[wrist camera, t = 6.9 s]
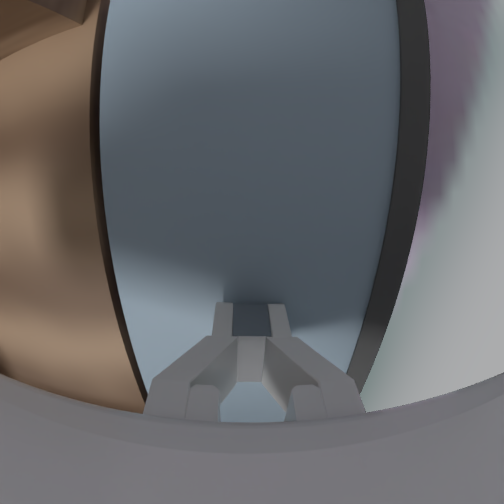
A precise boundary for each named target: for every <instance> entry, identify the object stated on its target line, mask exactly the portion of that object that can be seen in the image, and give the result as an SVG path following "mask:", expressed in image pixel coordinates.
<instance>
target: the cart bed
mask: <svg viewBox="0 0 504 504" xmlns="http://www.w3.org/2000/svg"><path fill="white" fill-rule="evenodd" d="M109 5H110V0H0V374H2V375H5V376H7V377H9V378H12V379H14V380H17V381H19V382H22V383H25V384H27V385H30V386H33V387H36V388H39V389H42V390H45V391H48V392H51V393H54V394H57V395H61V396H64V397H67V398H71V399H75V400H78V401H82V402H86V403H90V404H94V405H99V406H103V407H108V408H112V409H117V410H122V411H128V412H133V413H139V414H143V411H144V407H145V403H146V400H147V396H148V393H147V390H146V388H145V385H144V382H143V379H142V376H141V373H140V370H139V366H138V363H137V360H136V357H135V353H134V350H133V347H132V343H131V340H130V336H129V332H128V329H127V325H126V321H125V317H124V313H123V309H122V305H121V300H120V296H119V291H118V287H117V282H116V277H115V272H114V266H113V261H112V255H111V249H110V243H109V236H108V230H107V222H106V214H105V206H104V196H103V185H102V172H101V155H100V85H101V69H102V57H103V47H104V38H105V30H106V23H107V17H108V11H109Z"/></svg>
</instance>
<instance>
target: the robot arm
mask: <svg viewBox="0 0 504 504" xmlns="http://www.w3.org/2000/svg"><path fill="white" fill-rule="evenodd" d="M237 382H262V384H263V386H264V387H265V388H266V389H267V391H268V392H269V393H270V394H271V396H272V397H273V398H274V399H275V400H276V402H277V403H278V404H279V405H280V406H281V408H282V409H283V410H284V411H285V412H286V415H285V419H284V422H221V416H220V404H221V403H222V402H223V401H224V399H225V398H226V397H227V395H228V394H229V393H230V392H231V390H232V389H233V388H234V386H235V385H236V384H237ZM0 504H504V373H501V374H499V375H497V376H494V377H492V378H489V379H487V380H484V381H482V382H479V383H476V384H474V385H471V386H468V387H465V388H462V389H459V390H457V391H453V392H450V393H447V394H444V395H440V396H437V397H433V398H430V399H426V400H423V401H419V402H415V403H411V404H407V405H402V406H398V407H393V408H389V409H384V410H378V411H373V412H368V413H366V411H365V408H364V405H363V403H362V400H361V397H360V395H359V392H358V389H357V386H356V384H355V381H354V379H352V378H351V377H349V376H348V375H347V374H345V373H344V372H343V371H341V370H340V369H339V368H337V367H336V366H335V365H333V364H332V363H331V362H329V361H328V360H327V359H325V358H324V357H323V356H321V355H320V354H319V353H317V352H316V351H315V350H313V349H312V348H311V347H310V346H308V345H307V344H306V343H304V342H303V341H302V340H300V339H299V338H298V337H292V334H291V330H290V325H289V321H288V317H287V312H286V308H285V305H284V304H283V303H275V304H251V303H230V302H217V303H216V305H215V313H214V320H213V328H212V336H208V335H207V336H205V337H204V338H203V339H202V340H201V341H199V342H198V343H197V344H196V345H194V346H193V347H192V348H191V349H189V350H188V351H187V352H186V353H184V354H183V355H182V356H181V357H179V358H178V359H177V360H176V361H174V362H173V363H172V364H171V365H169V366H168V367H167V368H166V369H164V370H163V371H162V372H161V373H159V374H158V375H157V376H155V377H154V378H153V379H152V382H151V386H150V389H149V393H148V396H147V400H146V403H145V407H144V411H143V414H139V413H133V412H128V411H122V410H117V409H112V408H108V407H103V406H99V405H94V404H90V403H86V402H82V401H78V400H75V399H71V398H67V397H64V396H61V395H57V394H54V393H51V392H48V391H45V390H42V389H39V388H36V387H33V386H30V385H27V384H25V383H22V382H19V381H17V380H14V379H12V378H9V377H7V376H5V375H2V374H0Z"/></svg>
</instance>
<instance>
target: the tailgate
mask: <svg viewBox="0 0 504 504" xmlns="http://www.w3.org/2000/svg"><path fill="white" fill-rule="evenodd" d="M429 119H430V53H429V39H428V28H427V19H426V11H425V4H424V0H110V5H109V11H108V17H107V23H106V30H105V38H104V47H103V57H102V69H101V85H100V155H101V172H102V185H103V196H104V206H105V214H106V222H107V230H108V236H109V243H110V249H111V255H112V261H113V266H114V272H115V277H116V282H117V287H118V291H119V296H120V300H121V305H122V309H123V313H124V317H125V321H126V325H127V329H128V332H129V336H130V340H131V343H132V347H133V350H134V353H135V357H136V360H137V363H138V366H139V370H140V373H141V376H142V379H143V382H144V385H145V388H146V390H147V393H149V389H150V386H151V382H152V379H153V378H154V377H155V376H157V375H158V374H159V373H161V372H162V371H163V370H164V369H166V368H167V367H168V366H169V365H171V364H172V363H173V362H174V361H176V360H177V359H178V358H179V357H181V356H182V355H183V354H184V353H186V352H187V351H188V350H189V349H191V348H192V347H193V346H194V345H196V344H197V343H198V342H199V341H201V340H202V339H203V338H204V337H205V336H207V335H208V336H212V328H213V320H214V313H215V305H216V303H217V302H230V303H251V304H275V303H283V304H284V305H285V308H286V312H287V317H288V321H289V325H290V330H291V334H292V337H298V338H299V339H300V340H302V341H303V342H304V343H306V344H307V345H308V346H310V347H311V348H312V349H313V350H315V351H316V352H317V353H319V354H320V355H321V356H323V357H324V358H325V359H327V360H328V361H329V362H331V363H332V364H333V365H335V366H336V367H337V368H339V369H340V370H341V371H343V372H344V373H345V374H347V375H348V376H349V377H351V378H352V379H354V381H355V384H356V386H357V389H358V392H359V395H360V393H361V391H362V388H363V386H364V384H365V382H366V379H367V377H368V375H369V373H370V370H371V368H372V365H373V363H374V360H375V358H376V355H377V353H378V350H379V348H380V345H381V343H382V340H383V337H384V335H385V332H386V329H387V326H388V323H389V320H390V318H391V315H392V312H393V309H394V305H395V302H396V299H397V296H398V293H399V289H400V286H401V282H402V279H403V275H404V272H405V268H406V264H407V260H408V256H409V252H410V248H411V244H412V240H413V235H414V231H415V226H416V221H417V216H418V210H419V205H420V199H421V193H422V187H423V180H424V173H425V165H426V156H427V146H428V134H429ZM285 415H286V412H285V411H284V410H283V409H282V408H281V406H280V405H279V404H278V403H277V402H276V400H275V399H274V398H273V397H272V396H271V394H270V393H269V392H268V391H267V389H266V388H265V387H264V386H263V384H262V382H237V384H236V385H235V386H234V388H233V389H232V390H231V392H230V393H229V394H228V395H227V397H226V398H225V399H224V401H223V402H222V403H221V404H220V416H221V422H284V419H285Z"/></svg>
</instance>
